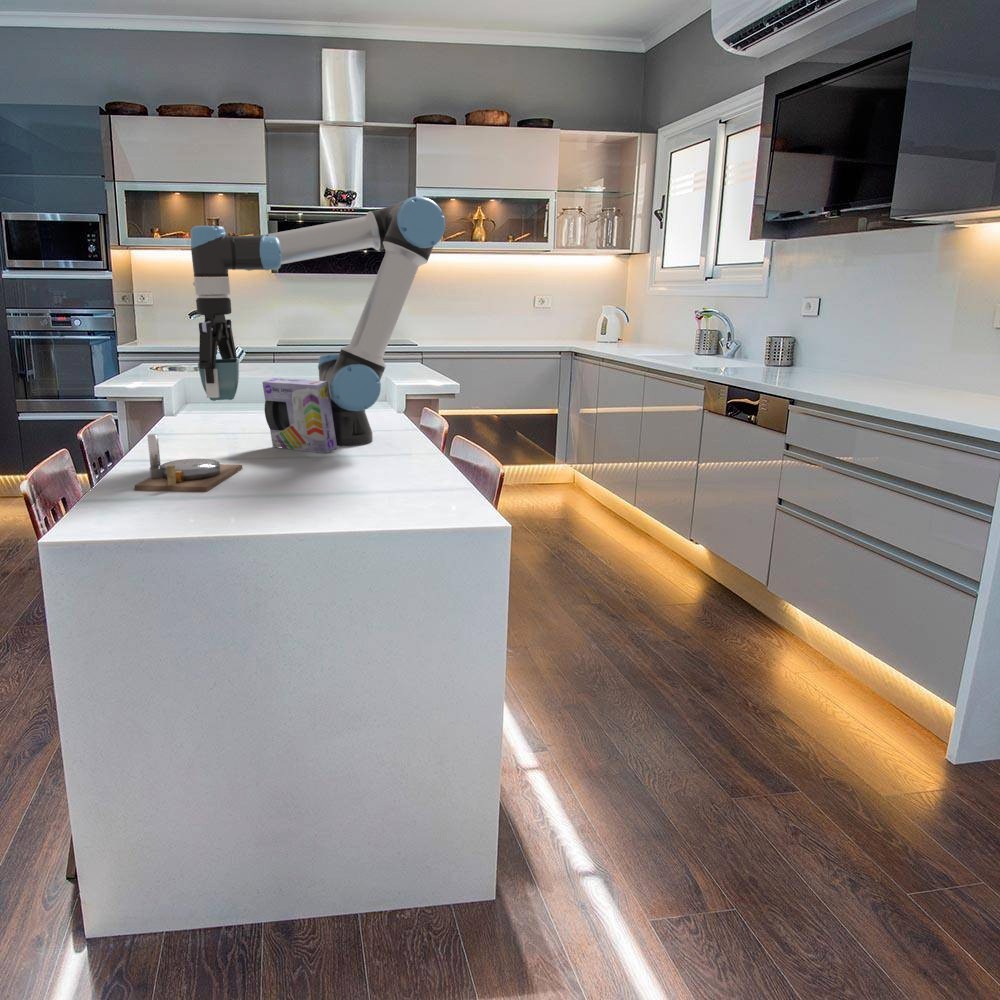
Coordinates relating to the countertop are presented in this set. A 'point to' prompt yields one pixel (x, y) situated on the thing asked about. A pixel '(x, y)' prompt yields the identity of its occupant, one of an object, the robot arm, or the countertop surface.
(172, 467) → the base
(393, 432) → the countertop surface
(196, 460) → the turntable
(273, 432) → the cake pan box
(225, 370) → the flower pot
